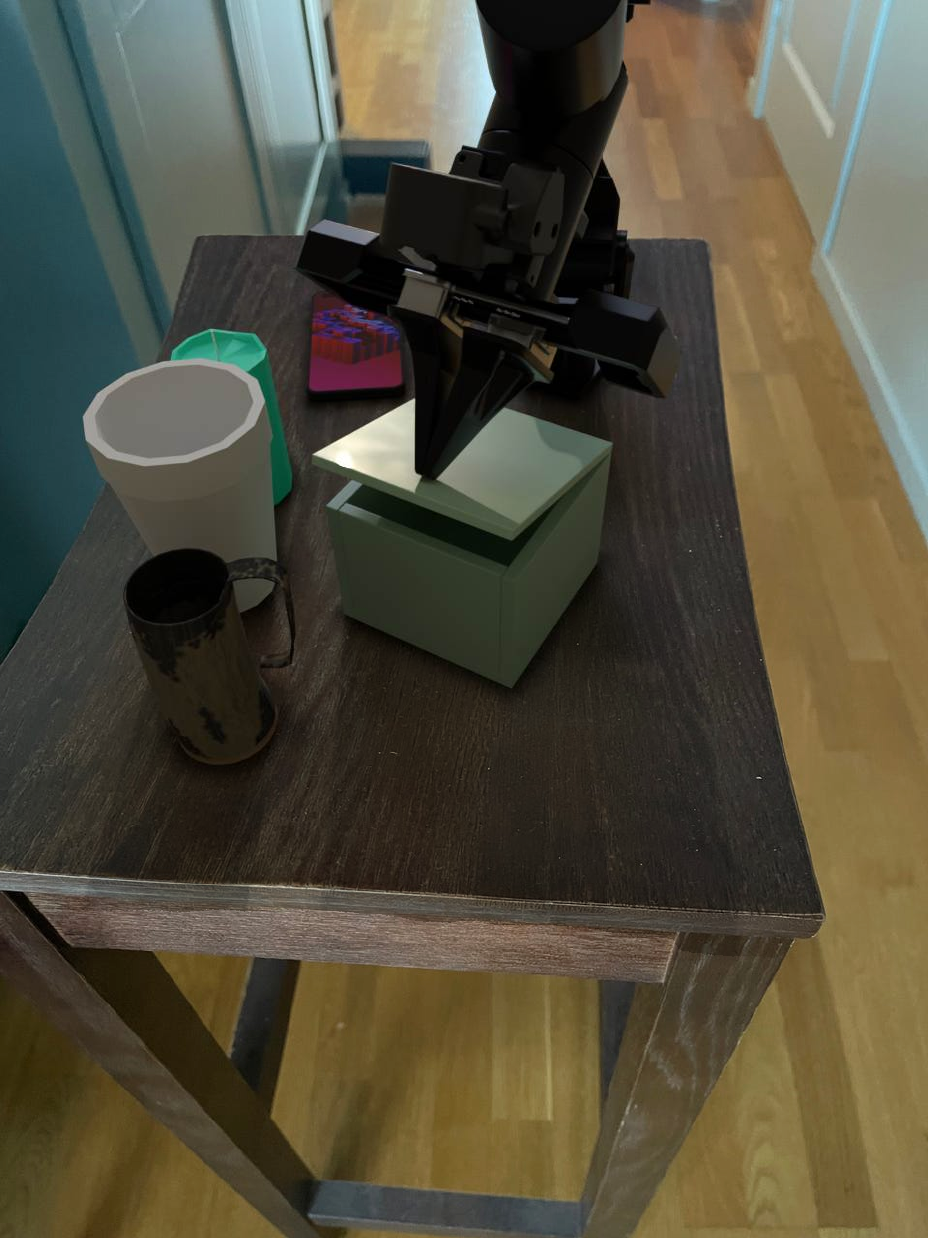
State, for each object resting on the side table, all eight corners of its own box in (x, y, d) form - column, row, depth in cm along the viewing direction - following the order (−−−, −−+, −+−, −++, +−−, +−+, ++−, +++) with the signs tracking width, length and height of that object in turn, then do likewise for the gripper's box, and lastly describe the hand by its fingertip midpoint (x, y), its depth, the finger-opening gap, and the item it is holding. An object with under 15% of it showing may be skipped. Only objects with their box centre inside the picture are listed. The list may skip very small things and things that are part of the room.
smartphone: (304, 393, 70) (310, 290, 79) (306, 403, 70) (312, 300, 80) (406, 387, 70) (399, 285, 80) (407, 396, 71) (400, 295, 80)
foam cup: (326, 547, 60) (294, 376, 50) (260, 651, 54) (209, 480, 44) (198, 516, 62) (144, 347, 52) (122, 614, 56) (45, 443, 46)
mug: (166, 768, 49) (94, 619, 40) (182, 685, 52) (119, 532, 43) (315, 760, 49) (277, 610, 40) (320, 678, 53) (286, 524, 44)
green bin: (511, 689, 52) (515, 581, 45) (344, 614, 56) (324, 505, 49) (597, 562, 58) (611, 452, 52) (442, 503, 62) (436, 394, 56)
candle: (276, 518, 62) (240, 363, 53) (193, 508, 63) (144, 353, 54) (304, 462, 66) (275, 309, 57) (225, 453, 66) (184, 301, 57)
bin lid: (511, 541, 43) (513, 530, 42) (311, 464, 47) (311, 454, 46) (611, 452, 52) (613, 442, 51) (436, 394, 56) (437, 384, 55)
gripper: (284, 30, 39) (174, 384, 41) (703, 105, 32) (548, 521, 34) (398, 156, 49) (305, 433, 51) (733, 231, 43) (612, 545, 45)
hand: (424, 476), depth 45 cm, fingers closed
